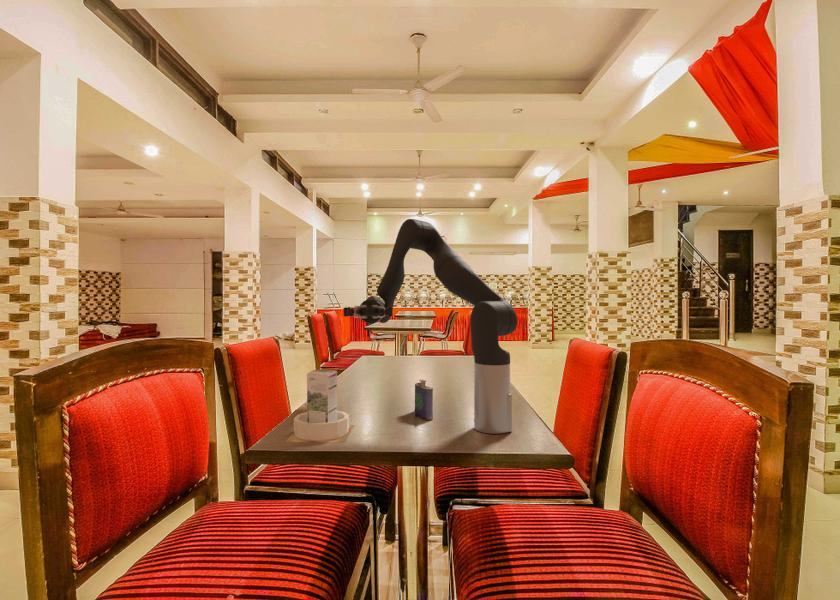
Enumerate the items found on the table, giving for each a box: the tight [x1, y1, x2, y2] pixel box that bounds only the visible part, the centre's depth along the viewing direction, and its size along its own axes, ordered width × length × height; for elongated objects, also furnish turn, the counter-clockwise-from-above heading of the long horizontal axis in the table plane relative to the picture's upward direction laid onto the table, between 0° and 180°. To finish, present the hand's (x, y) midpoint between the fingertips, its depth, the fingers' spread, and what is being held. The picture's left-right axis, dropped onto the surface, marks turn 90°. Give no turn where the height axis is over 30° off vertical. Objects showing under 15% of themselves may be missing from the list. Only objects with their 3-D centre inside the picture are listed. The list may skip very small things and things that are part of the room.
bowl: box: [293, 410, 350, 441], centre depth 110 cm, size 13×13×4 cm
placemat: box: [284, 424, 355, 443], centre depth 110 cm, size 14×14×1 cm
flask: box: [413, 378, 434, 421], centre depth 128 cm, size 9×3×11 cm, turn 25°
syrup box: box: [306, 369, 338, 423], centre depth 110 cm, size 6×6×14 cm
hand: (365, 312), depth 124 cm, fingers open, 8 cm apart
